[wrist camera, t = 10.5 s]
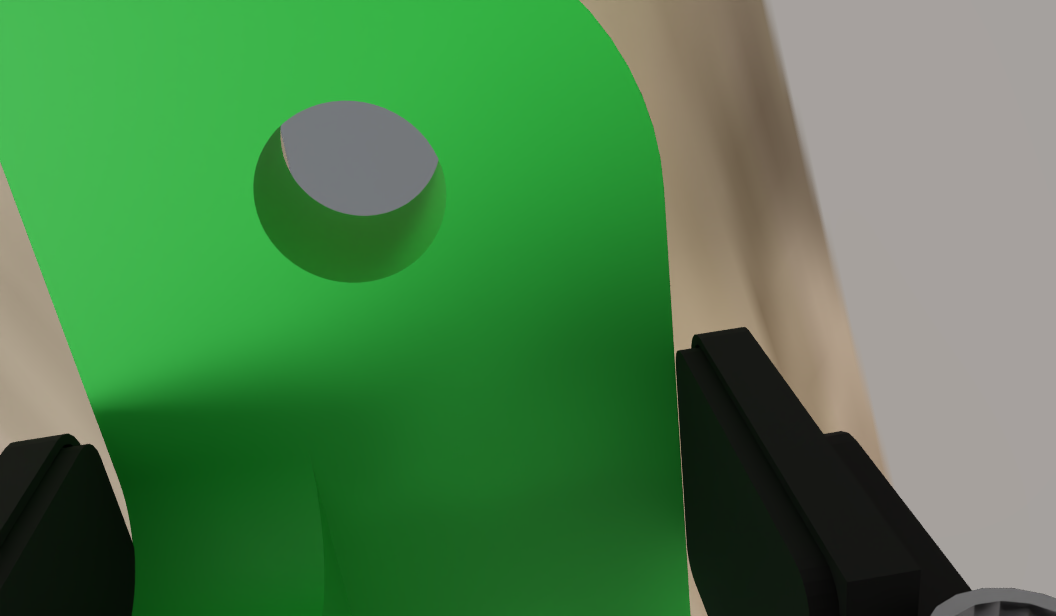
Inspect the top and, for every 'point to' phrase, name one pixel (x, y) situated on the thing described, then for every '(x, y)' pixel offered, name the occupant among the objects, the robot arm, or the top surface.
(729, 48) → the top surface
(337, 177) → the dark rubber pad
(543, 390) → the mechanical part
